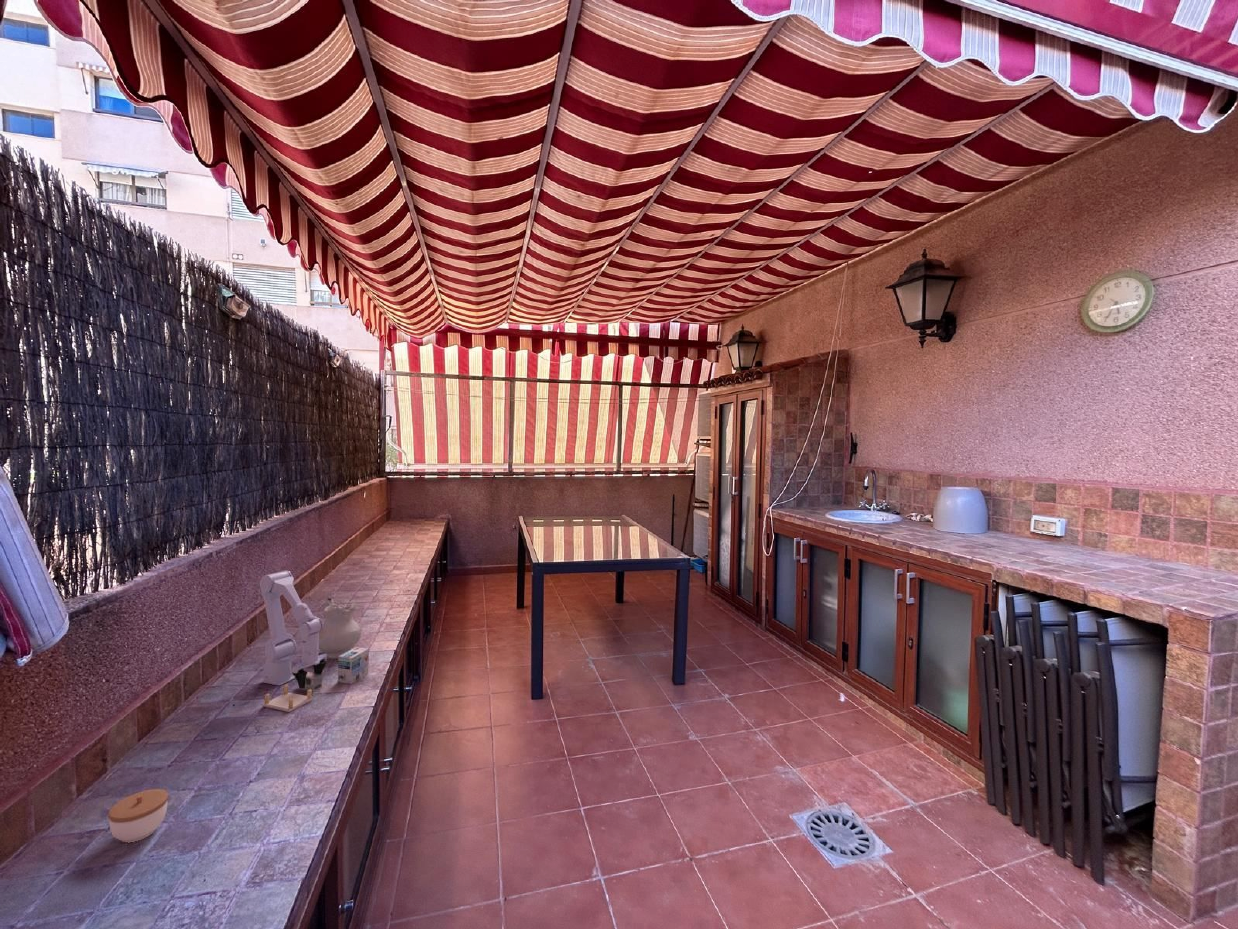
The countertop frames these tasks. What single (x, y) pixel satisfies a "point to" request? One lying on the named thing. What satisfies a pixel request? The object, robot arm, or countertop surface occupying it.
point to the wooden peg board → (287, 700)
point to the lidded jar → (138, 815)
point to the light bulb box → (353, 665)
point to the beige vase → (338, 629)
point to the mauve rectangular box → (312, 682)
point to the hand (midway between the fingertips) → (309, 683)
